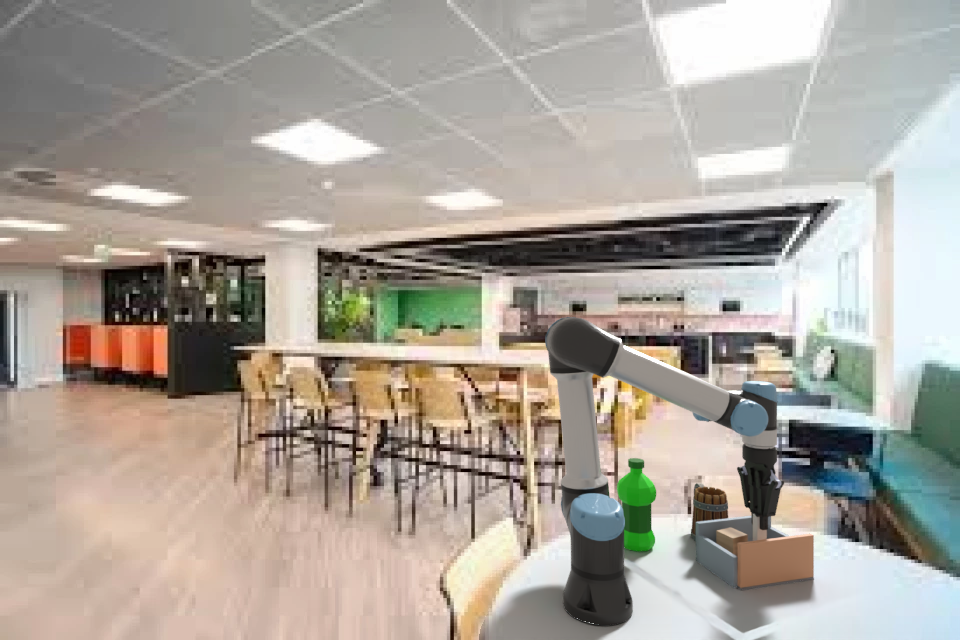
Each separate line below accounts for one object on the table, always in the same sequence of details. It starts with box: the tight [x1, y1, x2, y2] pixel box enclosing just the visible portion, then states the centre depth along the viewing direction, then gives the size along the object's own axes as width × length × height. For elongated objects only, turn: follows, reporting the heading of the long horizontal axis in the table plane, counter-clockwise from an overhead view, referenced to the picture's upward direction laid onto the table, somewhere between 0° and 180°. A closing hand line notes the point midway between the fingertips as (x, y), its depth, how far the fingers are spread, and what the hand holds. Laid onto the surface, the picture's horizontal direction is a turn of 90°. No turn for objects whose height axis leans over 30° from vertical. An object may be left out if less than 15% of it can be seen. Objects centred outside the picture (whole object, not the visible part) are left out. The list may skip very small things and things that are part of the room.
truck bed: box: [695, 515, 790, 589], centre depth 132 cm, size 22×14×12 cm, turn 104°
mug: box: [690, 482, 729, 543], centre depth 152 cm, size 16×11×15 cm
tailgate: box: [736, 533, 815, 591], centre depth 125 cm, size 20×1×11 cm, turn 104°
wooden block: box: [716, 527, 748, 557], centre depth 132 cm, size 5×5×9 cm
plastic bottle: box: [616, 457, 657, 553], centre depth 146 cm, size 10×10×25 cm
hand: (759, 540), depth 130 cm, fingers closed
